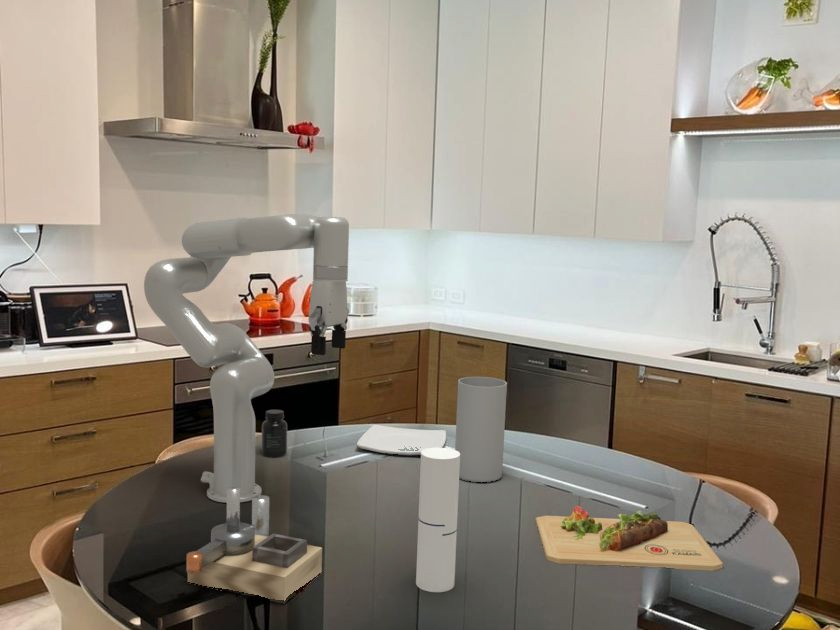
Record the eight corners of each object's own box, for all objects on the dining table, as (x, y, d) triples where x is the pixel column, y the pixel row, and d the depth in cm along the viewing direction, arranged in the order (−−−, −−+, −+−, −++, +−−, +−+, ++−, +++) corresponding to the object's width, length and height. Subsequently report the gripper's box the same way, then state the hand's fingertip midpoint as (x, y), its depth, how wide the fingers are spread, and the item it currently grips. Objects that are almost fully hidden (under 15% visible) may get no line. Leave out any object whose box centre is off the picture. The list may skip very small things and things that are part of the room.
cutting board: (547, 566, 168) (549, 530, 167) (534, 522, 191) (536, 490, 190) (724, 574, 167) (727, 538, 166) (689, 529, 191) (692, 497, 190)
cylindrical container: (414, 575, 160) (419, 447, 157) (451, 575, 161) (457, 447, 158) (417, 592, 153) (422, 458, 150) (456, 592, 154) (462, 459, 151)
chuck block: (187, 582, 154) (187, 543, 153) (230, 553, 167) (231, 517, 166) (284, 604, 147) (285, 563, 146) (321, 572, 160) (322, 534, 159)
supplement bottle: (266, 449, 236) (266, 407, 235) (289, 451, 235) (290, 409, 234) (258, 456, 229) (258, 413, 228) (282, 458, 228) (283, 415, 227)
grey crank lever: (170, 569, 147) (170, 508, 145) (226, 534, 163) (227, 479, 161) (209, 578, 144) (209, 516, 143) (262, 541, 160) (263, 485, 159)
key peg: (248, 547, 170) (248, 499, 169) (257, 541, 173) (257, 494, 172) (263, 550, 169) (263, 502, 168) (271, 544, 172) (272, 496, 171)
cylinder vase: (446, 470, 224) (450, 378, 220) (488, 466, 229) (492, 375, 225) (467, 485, 212) (471, 388, 209) (510, 481, 217) (515, 385, 214)
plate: (351, 454, 236) (351, 445, 236) (370, 431, 260) (371, 423, 259) (438, 462, 232) (438, 452, 232) (449, 438, 256) (450, 429, 256)
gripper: (332, 270, 194) (331, 343, 196) (295, 275, 178) (294, 355, 180) (362, 272, 191) (360, 347, 193) (327, 277, 175) (326, 359, 177)
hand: (328, 351), depth 187 cm, fingers open, 9 cm apart
